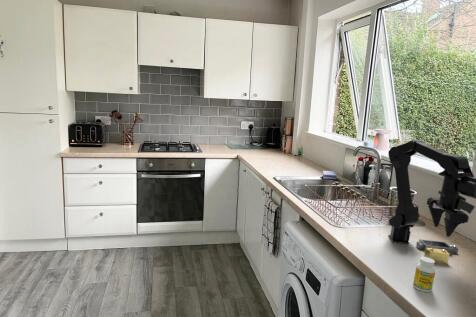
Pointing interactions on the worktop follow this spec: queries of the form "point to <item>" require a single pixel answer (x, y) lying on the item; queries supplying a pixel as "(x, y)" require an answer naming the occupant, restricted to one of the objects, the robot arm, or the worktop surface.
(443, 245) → the open rectangular frame
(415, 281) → the supplement bottle
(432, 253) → the gold block with knobs
